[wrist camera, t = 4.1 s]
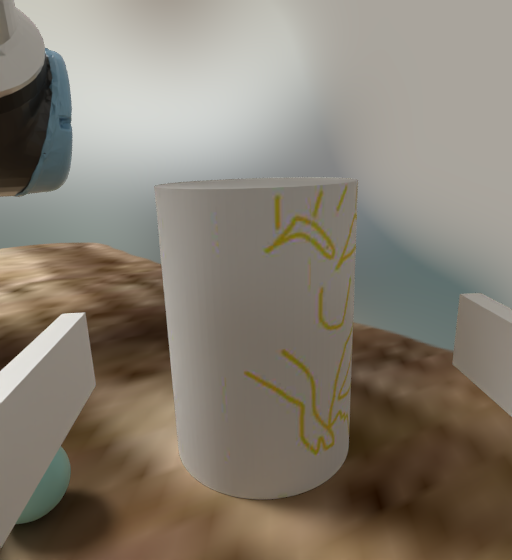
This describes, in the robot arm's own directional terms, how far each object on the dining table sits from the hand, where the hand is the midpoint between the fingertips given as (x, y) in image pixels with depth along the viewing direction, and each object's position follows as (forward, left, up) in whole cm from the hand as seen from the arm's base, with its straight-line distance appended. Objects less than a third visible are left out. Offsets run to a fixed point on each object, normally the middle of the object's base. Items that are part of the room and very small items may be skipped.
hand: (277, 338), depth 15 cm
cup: (-4, +1, -7) cm, 8 cm away
